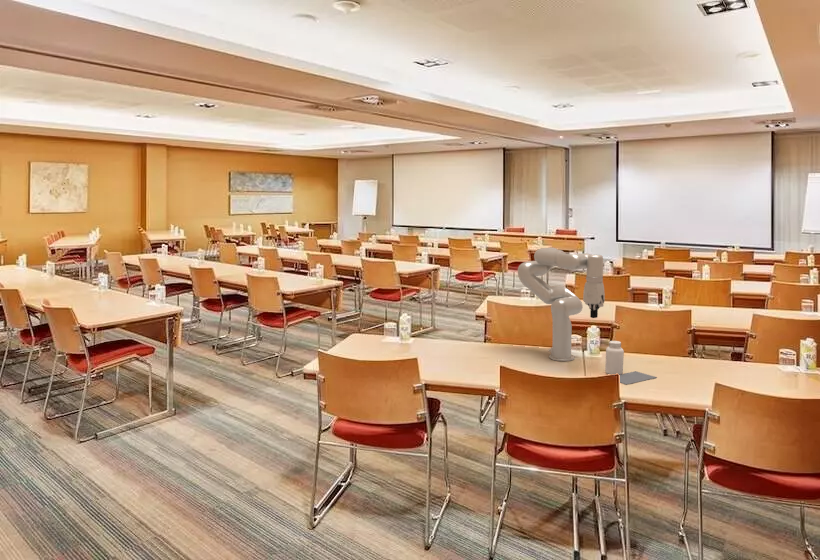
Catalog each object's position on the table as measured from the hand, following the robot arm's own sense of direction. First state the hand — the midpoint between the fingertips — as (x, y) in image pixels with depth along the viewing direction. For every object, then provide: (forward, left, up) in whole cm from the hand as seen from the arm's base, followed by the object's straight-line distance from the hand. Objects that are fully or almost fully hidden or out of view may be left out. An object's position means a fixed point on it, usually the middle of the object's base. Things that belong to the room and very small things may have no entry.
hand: (593, 317), depth 286 cm
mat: (+23, 0, -25) cm, 34 cm away
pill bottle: (+13, 0, -25) cm, 28 cm away
